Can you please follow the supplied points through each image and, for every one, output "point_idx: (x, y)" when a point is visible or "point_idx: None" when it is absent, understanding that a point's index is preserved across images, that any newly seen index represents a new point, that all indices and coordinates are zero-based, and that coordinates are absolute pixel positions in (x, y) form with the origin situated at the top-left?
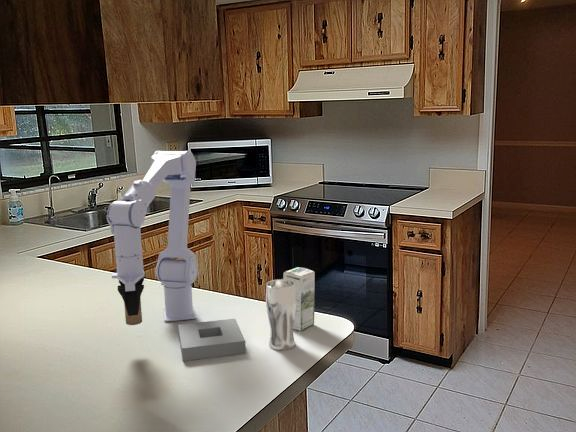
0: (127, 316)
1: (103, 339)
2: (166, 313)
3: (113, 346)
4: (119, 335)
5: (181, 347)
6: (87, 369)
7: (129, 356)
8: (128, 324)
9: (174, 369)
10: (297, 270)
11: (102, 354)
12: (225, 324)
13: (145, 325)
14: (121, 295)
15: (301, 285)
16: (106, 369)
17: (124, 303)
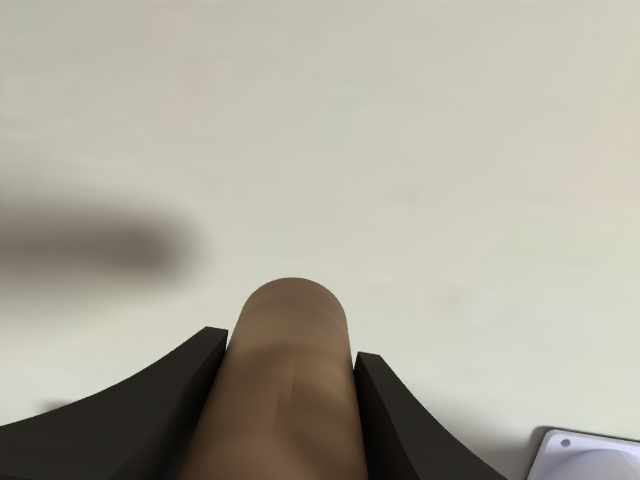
0: (250, 314)
1: (516, 132)
2: (606, 461)
3: (396, 169)
4: (520, 216)
5: None
6: (173, 7)
7: (242, 221)
8: (259, 289)
9: (42, 362)
10: None
11: (324, 103)
12: None
13: (569, 346)
14: (7, 427)
15: None
16: (139, 100)
17: (269, 361)
